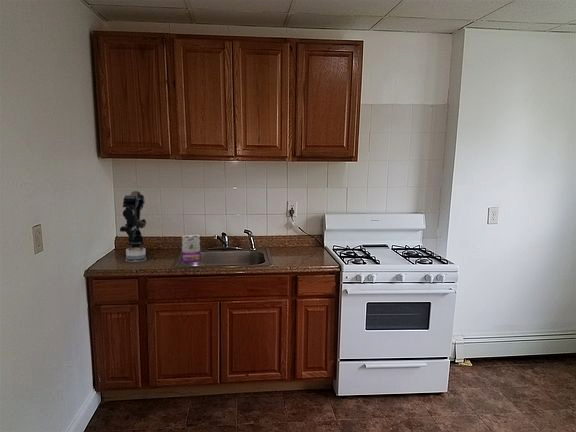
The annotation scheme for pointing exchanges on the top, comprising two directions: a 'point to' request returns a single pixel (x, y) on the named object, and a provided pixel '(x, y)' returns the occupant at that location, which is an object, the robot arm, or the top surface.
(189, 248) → the candy bar box
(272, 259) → the top surface
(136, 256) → the canister
